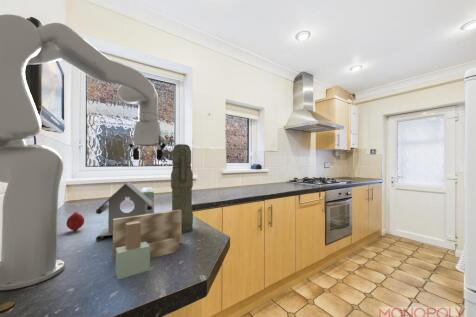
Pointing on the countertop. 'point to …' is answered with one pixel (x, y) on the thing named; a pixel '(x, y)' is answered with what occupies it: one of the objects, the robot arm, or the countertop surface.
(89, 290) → the countertop surface
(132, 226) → the green and brown block
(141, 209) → the grey nesting box
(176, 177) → the green carved statue
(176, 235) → the wooden box
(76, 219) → the onion
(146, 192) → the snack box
